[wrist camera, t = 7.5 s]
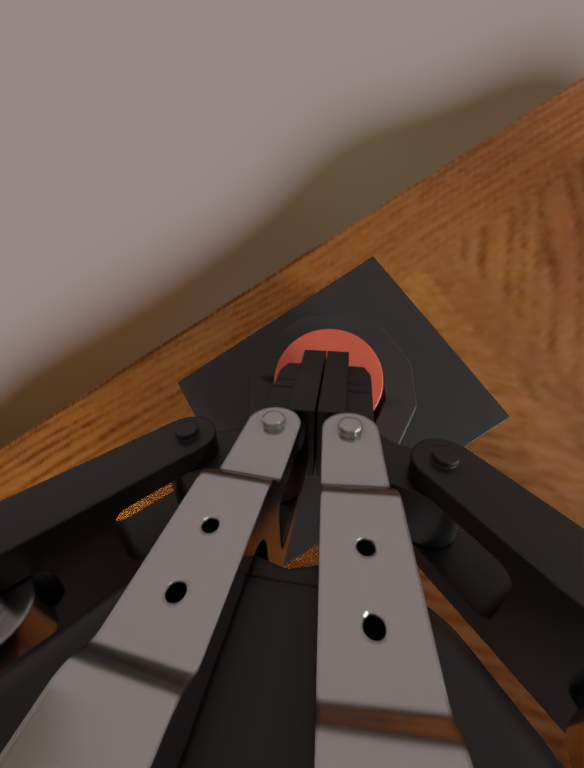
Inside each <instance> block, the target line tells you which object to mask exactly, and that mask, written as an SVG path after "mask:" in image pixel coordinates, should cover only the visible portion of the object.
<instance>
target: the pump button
mask: <svg viewBox="0 0 584 768" xmlns="http://www.w3.org/2000/svg"><path fill="white" fill-rule="evenodd" d="M305 350H322V351H326V358H327V353H328V351H343V352H349V365H348V366H358V367H365V369H366V370H367V371H368V372H369V373H370V374H371V382H372V396H373V410H375V408H376V407H377V405H378V403H379V400H380V398H381V395H382V390H383V372H382V368H381V364H380V362H379V360H378V357H377V356H376V354H375V353H374V351H373V350H372V348H371V347H370V346H369V345H368V344H367V343H366V342H365V341H363V340H362V339H360V338H359V337H357V336H356V335H354V334H352V333H349V332H346V331H342V330H337V329H322V330H316V331H313V332H310V333H307V334H305V335H303V336H301V337H299V338H298V339H296V340H295V341H294V342H293V343H292V344H290V345H289V346H288V348H287V349H286V350H285V351H284V353H283V354H282V356H281V357H280V359H279V362H278V364H277V367H276V370H275V376H274V383H275V381H276V380H277V376H278V374H279V371H280V369H282V368H283V367H284V366H285V365H287V364H288V363H301V361H302V358H303V354H304V351H305Z"/></svg>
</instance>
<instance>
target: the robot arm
mask: <svg viewBox="0 0 584 768" xmlns="http://www.w3.org/2000/svg"><path fill="white" fill-rule="evenodd" d="M348 365H349V352H343V351H328V353H327V358H326V351H322V350H305V351H304V354H303V358H302V361H301V363H288V364H287V365H285V366H284V367H283V368H282V369H280V371H279V374H278V376H277V380H276V381H275V383H274V387H273V388H272V391H271V393H270V396H269V398H268V401H267V403H266V405H265V408H264V409H261V410H259V411H257V412H255V413H254V414H252V415H251V416H250V418H249V419H248V421H247V422H246V424H245V426H244V427H243V428H239V429H233V430H226V431H218V432H216V428H215V425H214V423H213V422H212V421H210V420H209V419H206V418H203V417H187V418H182V419H179V420H177V421H174V422H172V423H170V424H168V425H165V426H163V427H161V428H159V429H157V430H155V431H152V432H150V433H148V434H146V435H144V436H141V437H139V438H137V439H135V440H133V441H131V442H128V443H126V444H124V445H122V446H120V447H117V448H115V449H113V450H111V451H109V452H107V453H104V454H102V455H100V456H98V457H96V458H93V459H91V460H89V461H87V462H85V463H83V464H80V465H78V466H76V467H74V468H72V469H69V470H67V471H65V472H63V473H61V474H59V475H56V476H54V477H52V478H50V479H48V480H45V481H43V482H41V483H39V484H37V485H35V486H32V487H30V488H28V489H26V490H24V491H21V492H19V493H17V494H15V495H13V496H11V497H8V498H6V499H4V500H2V501H0V768H565V767H564V765H563V764H562V763H561V762H560V760H559V759H558V758H557V757H556V755H555V754H554V753H553V751H552V750H551V749H550V748H549V746H548V745H547V744H546V743H545V741H544V740H543V739H542V738H541V736H540V735H539V734H538V733H537V731H536V730H535V729H534V728H533V726H532V725H531V724H530V723H529V721H528V720H527V719H526V718H525V716H524V715H523V714H522V713H521V711H520V710H519V709H518V708H517V706H516V705H515V704H514V703H513V701H512V700H511V699H510V698H509V696H508V695H507V694H506V693H505V691H504V690H503V689H502V688H501V686H500V685H499V684H498V683H497V681H496V680H495V679H494V677H493V676H492V675H491V674H490V672H489V671H488V670H487V669H486V667H485V666H484V665H483V664H482V662H481V661H480V660H479V659H478V657H477V656H476V655H475V654H474V652H473V651H472V650H471V649H470V647H469V646H468V645H467V644H466V643H465V641H464V640H463V639H462V638H461V637H460V635H459V634H458V633H457V632H456V631H455V630H454V629H453V628H452V627H451V626H450V625H449V624H448V623H447V622H446V621H445V620H444V619H442V618H441V617H440V616H439V615H438V614H437V613H435V612H434V611H433V610H432V609H430V608H429V607H427V606H426V602H425V597H424V593H423V589H422V584H421V580H420V576H419V572H418V567H419V568H420V569H421V570H422V572H423V573H424V574H425V575H426V576H427V577H428V578H429V579H430V581H431V582H432V583H433V584H434V585H435V586H436V587H437V589H438V590H439V591H440V592H441V593H442V594H443V595H444V597H445V598H446V599H447V600H448V601H449V602H450V603H451V604H452V606H453V607H454V608H455V609H456V610H457V611H458V612H459V614H460V615H461V616H462V617H463V618H464V619H465V620H466V622H467V623H468V624H469V625H470V626H471V627H472V628H473V629H474V631H475V632H476V633H477V634H478V635H479V636H480V637H481V639H482V640H483V641H484V642H485V643H486V644H487V645H488V647H489V648H490V649H491V650H492V651H493V652H494V653H495V654H496V656H497V657H498V658H499V659H500V660H501V661H502V662H503V664H504V665H505V666H506V667H507V668H508V669H509V670H510V672H511V673H512V674H513V675H514V676H515V677H516V678H517V679H518V681H519V682H520V683H521V684H522V685H523V686H524V687H525V689H526V690H527V691H528V692H529V693H530V694H531V695H532V697H533V698H534V699H535V700H536V701H537V702H538V703H539V704H540V706H541V707H542V708H543V709H544V710H545V711H546V712H547V714H548V715H549V716H550V717H551V718H552V719H553V720H554V722H555V723H556V724H557V725H558V726H559V727H560V728H561V729H562V731H563V732H564V733H565V734H566V736H565V741H566V749H567V753H568V757H569V761H570V764H571V766H572V768H584V529H583V528H582V527H580V526H579V525H577V524H576V523H575V522H573V521H572V520H570V519H569V518H567V517H566V516H564V515H563V514H561V513H560V512H558V511H557V510H555V509H554V508H553V507H551V506H550V505H548V504H547V503H545V502H544V501H542V500H541V499H539V498H538V497H536V496H535V495H534V494H532V493H531V492H529V491H528V490H526V489H525V488H523V487H522V486H520V485H519V484H517V483H516V482H514V481H513V480H512V479H510V478H509V477H507V476H506V475H504V474H503V473H501V472H500V471H498V470H497V469H495V468H494V467H493V466H491V465H490V464H488V463H487V462H485V461H484V460H482V459H481V458H479V457H478V456H476V455H475V454H473V453H472V452H471V451H469V450H468V449H466V448H465V447H463V446H461V445H459V444H457V443H455V442H452V441H449V440H445V439H436V438H432V439H425V440H422V441H420V442H418V443H417V444H416V445H415V446H414V447H413V449H412V448H409V447H406V446H402V445H399V444H397V443H394V442H392V441H390V440H388V439H387V438H385V437H384V436H383V435H381V434H380V433H379V430H378V427H377V426H376V424H375V423H374V410H373V396H372V382H371V374H370V373H369V372H368V371H367V370H366V369H365V367H358V366H348ZM315 464H316V476H320V477H321V486H320V520H319V560H318V566H310V567H301V568H291V569H288V568H284V562H285V557H286V553H287V549H288V546H289V542H290V538H291V535H292V531H293V527H294V524H295V520H296V516H297V513H298V509H299V505H300V501H301V497H302V488H303V485H304V480H305V475H309V476H314V470H315ZM169 483H172V486H173V489H174V491H173V492H171V493H170V494H168V495H166V496H164V497H163V498H161V499H159V500H158V501H156V502H154V503H152V504H151V505H149V506H147V507H146V508H144V509H142V510H140V511H139V512H137V513H135V514H134V515H132V516H130V517H128V518H127V519H124V520H121V521H116V518H117V517H118V515H119V514H120V513H121V512H122V511H123V510H124V509H125V508H127V507H129V506H130V505H132V504H134V503H136V502H137V501H139V500H141V499H143V498H144V497H146V496H148V495H150V494H152V493H153V492H155V491H157V490H159V489H160V488H162V487H164V486H166V485H167V484H169ZM460 526H461V527H462V528H463V529H464V530H465V531H464V530H463V529H462V528H461V527H460ZM470 535H471V536H472V537H473V538H474V539H475V540H474V539H473V538H472V537H471V536H470ZM480 544H481V545H482V546H483V547H484V548H485V549H484V548H483V547H482V546H481V545H480ZM490 553H491V554H492V555H493V556H494V557H495V558H494V557H493V556H492V555H491V554H490ZM417 566H418V567H417Z"/></svg>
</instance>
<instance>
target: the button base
mask: <svg viewBox="0 0 584 768" xmlns="http://www.w3.org/2000/svg"><path fill="white" fill-rule="evenodd" d="M322 329H337V330H342V331H346V332H349V333H352V334H354V335H356V336H357V337H359V338H360V339H362V340H363V341H365V342H366V343H367V344H368V345H369V346H370V347H371V348H372V350H373V351H374V353H375V354H376V356H377V357H378V360H379V362H380V364H381V368H382V372H383V390H382V395H381V398H380V400H379V403H378V405H377V407H376V408H375V410H374V423H375V424H376V426H377V427H378V430H379V433H380V434H381V435H383V436H384V437H385V438H387V439H388V440H390V441H392V442H394V443H397V444H399V445H402V446H406V447H409V448H412V449H413V447H414V446H415V445H416V444H417V443H418V442H420V441H422V440H425V439H432V438H436V439H445V440H449V441H452V442H455V443H457V444H459V445H461V446H463V447H465V446H467V445H468V444H470V443H471V442H473V441H474V440H476V439H478V438H479V437H481V436H482V435H484V434H485V433H487V432H488V431H490V430H491V429H493V428H494V427H496V426H497V425H499V424H500V423H502V422H503V421H505V420H506V419H508V418H509V417H510V416H509V415H508V414H507V413H506V412H505V410H504V409H503V408H502V407H501V406H500V405H499V403H498V402H497V401H496V400H495V399H494V398H493V396H492V395H491V394H490V393H489V392H488V390H487V389H486V388H485V387H484V386H483V385H482V383H481V382H480V381H479V380H478V379H477V378H476V376H475V375H474V374H473V373H472V372H471V371H470V369H469V368H468V367H467V366H466V365H465V363H464V362H463V361H462V360H461V359H460V358H459V356H458V355H457V354H456V353H455V352H454V351H453V349H452V348H451V347H450V346H449V345H448V344H447V342H446V341H445V340H444V339H443V338H442V336H441V335H440V334H439V333H438V332H437V331H436V329H435V328H434V327H433V326H432V325H431V324H430V322H429V321H428V320H427V319H426V318H425V316H424V315H423V314H422V313H421V312H420V311H419V309H418V308H417V307H416V306H415V305H414V304H413V302H412V301H411V300H410V299H409V298H408V297H407V295H406V294H405V293H404V292H403V291H402V289H401V288H400V287H399V286H398V285H397V284H396V282H395V281H394V280H393V279H392V278H391V277H390V275H389V274H388V273H387V272H386V271H385V270H384V268H383V267H382V266H381V265H380V264H379V262H378V261H377V260H376V259H375V258H374V257H371V258H370V259H368V260H366V261H365V262H363V263H362V264H360V265H359V266H357V267H356V268H354V269H353V270H351V271H349V272H348V273H346V274H345V275H343V276H342V277H340V278H339V279H337V280H336V281H334V282H332V283H331V284H329V285H328V286H326V287H325V288H323V289H322V290H320V291H319V292H317V293H315V294H314V295H312V296H311V297H309V298H308V299H306V300H305V301H303V302H302V303H300V304H298V305H297V306H295V307H294V308H292V309H291V310H289V311H288V312H286V313H284V314H283V315H281V316H280V317H278V318H277V319H275V320H274V321H272V322H271V323H269V324H267V325H266V326H264V327H263V328H261V329H260V330H258V331H257V332H255V333H254V334H252V335H250V336H249V337H247V338H246V339H244V340H243V341H241V342H240V343H238V344H237V345H235V346H233V347H232V348H230V349H229V350H227V351H226V352H224V353H223V354H221V355H219V356H218V357H216V358H215V359H213V360H212V361H210V362H209V363H207V364H206V365H204V366H202V367H201V368H199V369H198V370H196V371H195V372H193V373H192V374H190V375H189V376H187V377H185V378H184V379H182V380H181V381H179V382H178V384H179V386H180V388H181V390H182V391H183V393H184V395H185V397H186V399H187V401H188V403H189V405H190V406H191V408H192V410H193V412H194V414H195V416H196V417H203V418H206V419H209V420H210V421H212V422H213V423H214V425H215V428H216V432H218V431H226V430H233V429H239V428H243V427H244V426H245V424H246V422H247V421H248V419H249V418H250V416H251V415H252V414H254V413H255V412H257V411H259V410H261V409H264V408H265V405H266V403H267V401H268V398H269V396H270V393H271V391H272V388H273V387H274V376H275V370H276V367H277V364H278V362H279V359H280V357H281V356H282V354H283V353H284V351H285V350H286V349H287V348H288V346H289V345H290V344H292V343H293V342H294V341H295V340H296V339H298V338H299V337H301V336H303V335H305V334H307V333H310V332H313V331H316V330H322ZM320 486H321V477H320V476H316V464H315V470H314V476H309V475H305V480H304V485H303V488H302V497H301V501H300V505H299V509H298V513H297V516H296V520H295V524H294V527H293V531H292V535H291V538H290V542H289V546H288V549H287V553H286V557H285V562H284V566H285V565H286V564H288V563H289V562H291V561H292V560H294V559H295V558H297V557H298V556H300V555H301V554H303V553H304V552H306V551H307V550H309V549H310V548H312V547H313V546H315V545H316V544H318V543H319V520H320Z"/></svg>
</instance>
